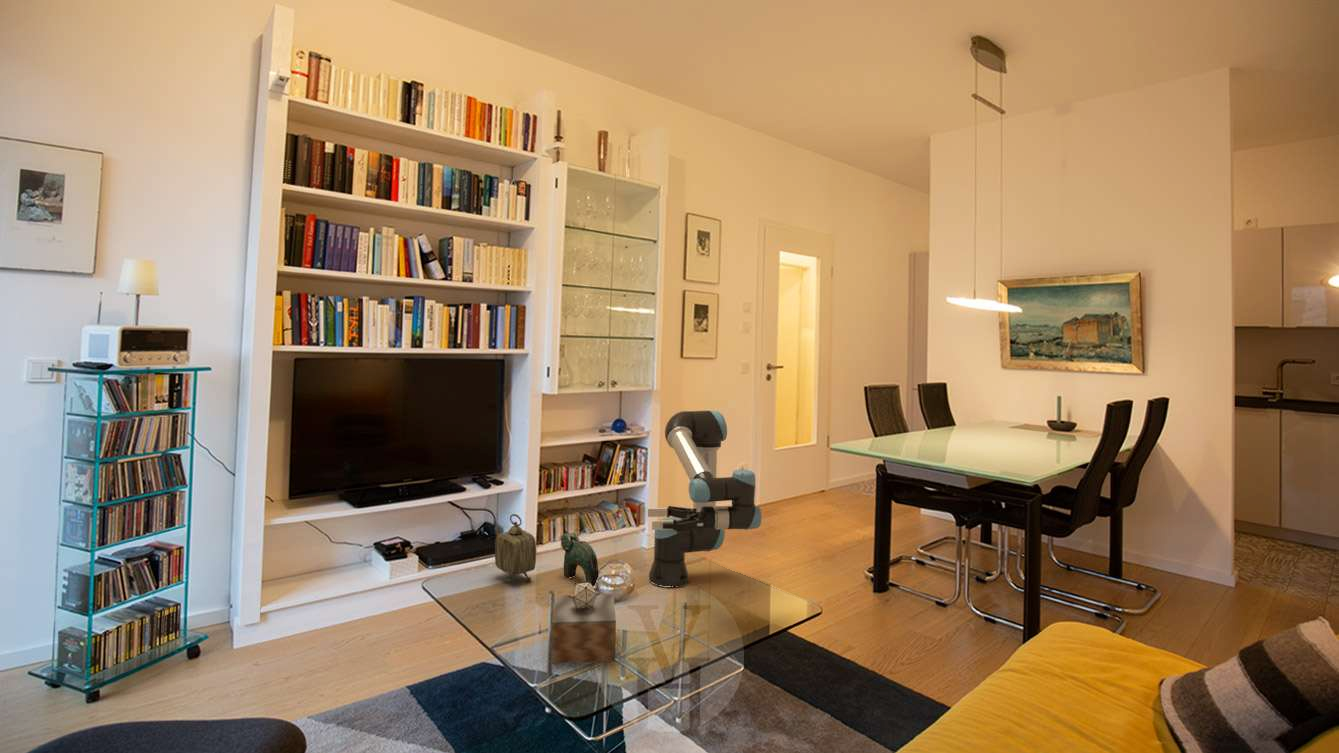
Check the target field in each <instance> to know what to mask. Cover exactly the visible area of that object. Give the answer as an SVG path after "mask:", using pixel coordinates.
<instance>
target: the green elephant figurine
mask: <svg viewBox="0 0 1339 753" xmlns="http://www.w3.org/2000/svg"><path fill="white" fill-rule="evenodd" d="M576 531H577V533H578V534H581V532H580V530H579V529H578V528H576V529H574V532H568V531H567V530H566V529H565V530H564V533H563V535H562V536H561V538H560V547H561V549H562V550H564V551H565V552H564V559H563V577H564V576H565V577H564V578H566V577H567V578H569V577H573V576H575V575H576V576H577V568H578V566H579V567H581V569H582V570H583V573H584V577H585V583H588V582H590V580H592V581H591V584H592V586H594V585H595V583H596V580H597V578H598V579H599V575H600V573H599V572H600V571H599V564H598V559H597V558H598V557H597V554H596V552H595V551H594V549H593V547H592V546H591V545H590V544H589V543H588V542H586V540H585V541H584V540H580V538H579V536H578V534H577V533H576ZM567 578H566V579H567ZM573 578H574V577H573Z"/></svg>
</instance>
